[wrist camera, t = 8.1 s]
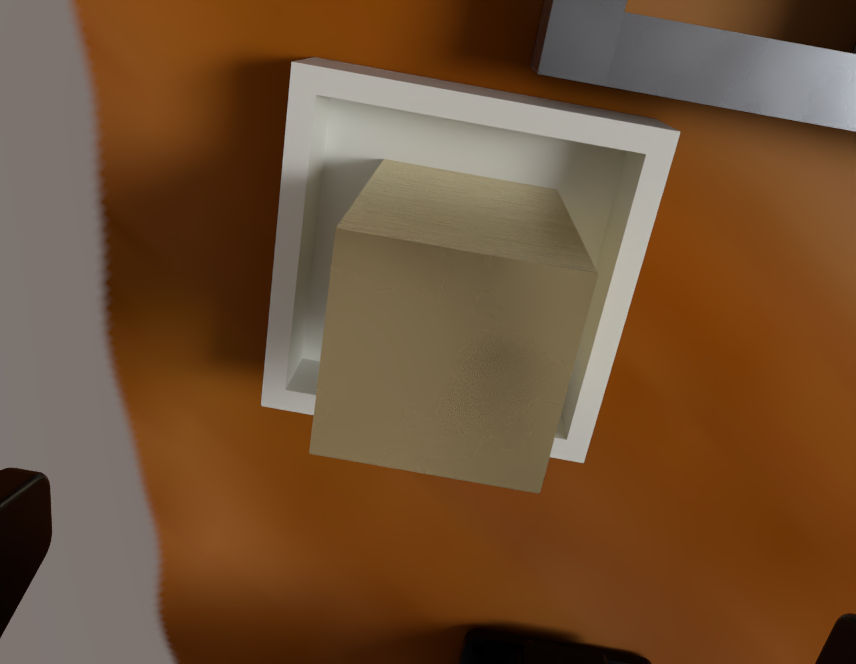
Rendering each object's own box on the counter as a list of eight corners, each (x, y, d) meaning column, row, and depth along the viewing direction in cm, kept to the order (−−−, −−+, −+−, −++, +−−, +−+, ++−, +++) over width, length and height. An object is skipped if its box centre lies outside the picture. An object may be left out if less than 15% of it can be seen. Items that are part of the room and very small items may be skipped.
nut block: (520, 347, 21) (540, 493, 14) (361, 319, 21) (309, 453, 14) (557, 189, 19) (597, 273, 13) (384, 158, 19) (335, 228, 12)
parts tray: (572, 417, 22) (583, 463, 20) (283, 365, 22) (260, 405, 20) (655, 118, 19) (680, 131, 16) (314, 57, 19) (291, 61, 16)
